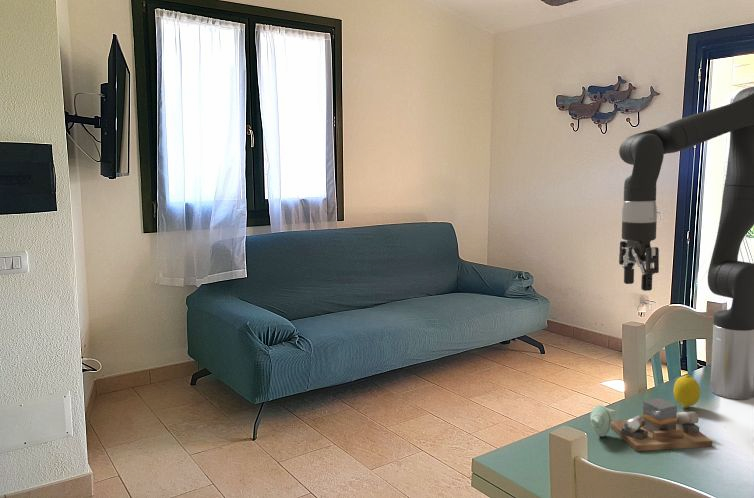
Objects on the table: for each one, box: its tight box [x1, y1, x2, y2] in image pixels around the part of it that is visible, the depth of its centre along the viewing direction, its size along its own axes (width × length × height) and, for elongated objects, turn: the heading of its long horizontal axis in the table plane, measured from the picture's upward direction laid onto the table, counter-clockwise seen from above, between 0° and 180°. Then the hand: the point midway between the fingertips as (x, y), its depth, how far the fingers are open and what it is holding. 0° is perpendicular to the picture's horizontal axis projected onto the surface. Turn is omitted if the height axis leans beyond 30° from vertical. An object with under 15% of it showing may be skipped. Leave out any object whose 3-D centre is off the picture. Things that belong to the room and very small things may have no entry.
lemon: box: [673, 374, 701, 409], centre depth 138 cm, size 6×6×8 cm
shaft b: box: [622, 415, 648, 440], centre depth 123 cm, size 4×4×4 cm
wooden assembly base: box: [610, 411, 713, 452], centre depth 125 cm, size 16×12×5 cm
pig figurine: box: [589, 404, 617, 438], centre depth 125 cm, size 8×4×7 cm, turn 131°
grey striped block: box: [642, 397, 678, 433], centre depth 124 cm, size 5×5×6 cm
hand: (637, 286), depth 141 cm, fingers open, 8 cm apart
